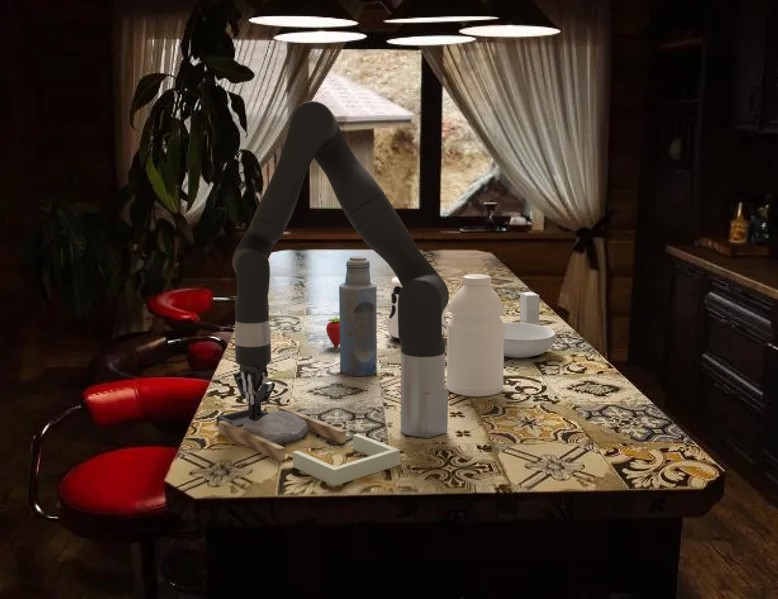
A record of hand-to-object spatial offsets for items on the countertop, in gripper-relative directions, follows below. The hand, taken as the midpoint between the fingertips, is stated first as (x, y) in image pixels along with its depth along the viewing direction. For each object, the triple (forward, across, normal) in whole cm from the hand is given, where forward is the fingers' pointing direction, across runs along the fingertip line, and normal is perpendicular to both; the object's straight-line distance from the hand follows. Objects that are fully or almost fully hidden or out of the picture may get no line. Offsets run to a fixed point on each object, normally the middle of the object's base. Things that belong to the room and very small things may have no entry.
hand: (254, 419), depth 207 cm
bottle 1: (+2, +19, -45) cm, 49 cm away
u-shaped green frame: (+2, -31, 0) cm, 31 cm away
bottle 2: (+2, -12, -56) cm, 57 cm away
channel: (+1, -10, 0) cm, 10 cm away
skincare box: (+2, +20, -113) cm, 114 cm away
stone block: (+2, -9, 0) cm, 9 cm away
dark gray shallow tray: (+1, +5, 0) cm, 5 cm away
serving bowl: (+2, +4, -90) cm, 90 cm away
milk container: (+2, +35, -81) cm, 88 cm away
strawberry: (+2, +43, -57) cm, 71 cm away
